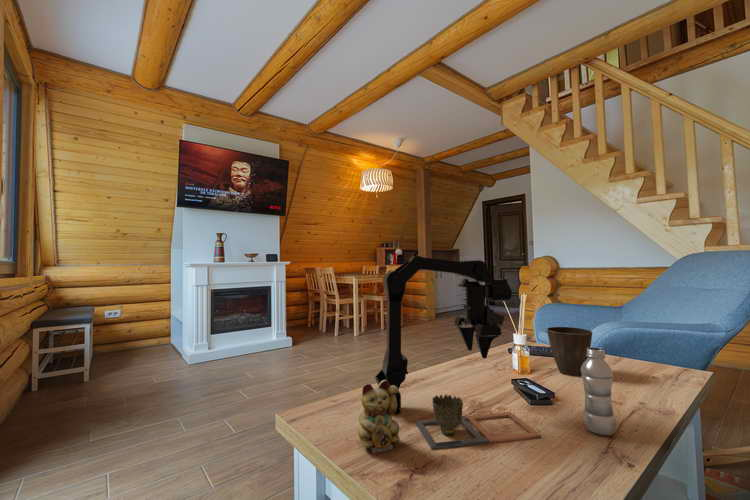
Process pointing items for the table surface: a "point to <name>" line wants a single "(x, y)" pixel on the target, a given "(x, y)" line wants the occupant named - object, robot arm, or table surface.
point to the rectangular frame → (474, 433)
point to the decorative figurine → (378, 417)
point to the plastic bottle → (598, 393)
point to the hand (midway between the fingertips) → (476, 354)
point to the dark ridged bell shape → (447, 413)
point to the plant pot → (569, 348)
